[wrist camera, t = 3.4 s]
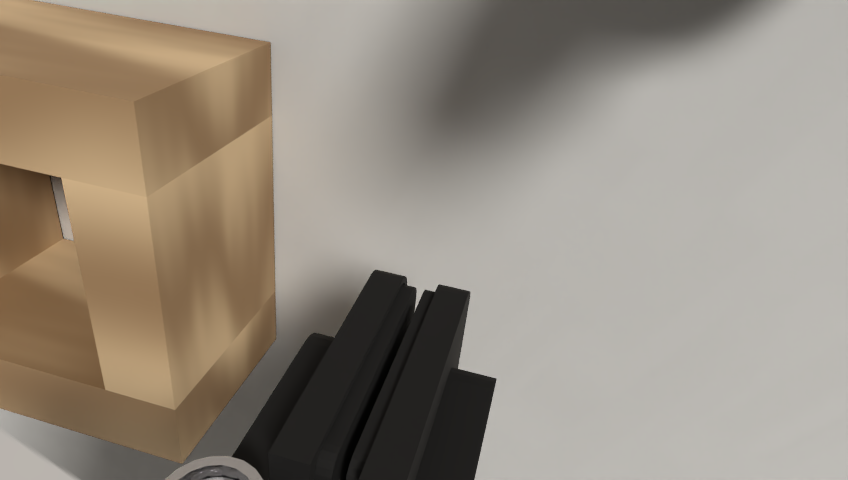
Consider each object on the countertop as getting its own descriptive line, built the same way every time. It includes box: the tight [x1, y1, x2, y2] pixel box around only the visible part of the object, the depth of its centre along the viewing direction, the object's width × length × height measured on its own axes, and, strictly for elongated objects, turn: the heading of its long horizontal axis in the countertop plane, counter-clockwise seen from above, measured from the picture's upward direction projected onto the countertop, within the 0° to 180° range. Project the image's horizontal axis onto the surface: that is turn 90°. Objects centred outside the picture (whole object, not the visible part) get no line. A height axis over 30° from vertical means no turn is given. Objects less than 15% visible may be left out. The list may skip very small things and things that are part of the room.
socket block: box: [0, 0, 276, 464], centre depth 16 cm, size 9×9×5 cm
